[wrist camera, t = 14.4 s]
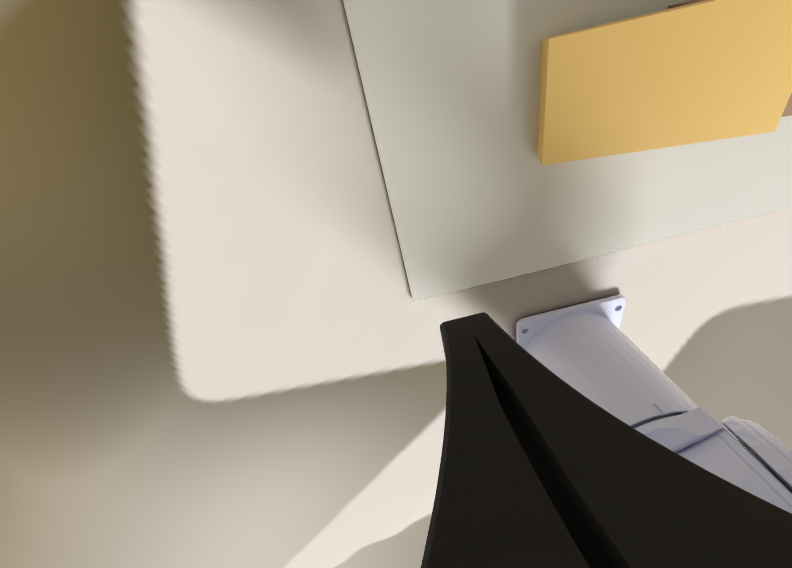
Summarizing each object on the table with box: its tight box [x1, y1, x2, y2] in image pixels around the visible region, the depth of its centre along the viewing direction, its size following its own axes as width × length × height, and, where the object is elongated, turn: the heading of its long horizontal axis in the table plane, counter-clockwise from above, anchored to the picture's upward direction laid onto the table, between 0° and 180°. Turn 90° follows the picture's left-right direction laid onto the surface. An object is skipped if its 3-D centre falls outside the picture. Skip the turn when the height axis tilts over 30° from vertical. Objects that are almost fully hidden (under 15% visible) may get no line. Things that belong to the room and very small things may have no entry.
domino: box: [536, 0, 792, 165], centre depth 14 cm, size 5×2×9 cm
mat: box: [343, 0, 792, 302], centre depth 16 cm, size 18×33×1 cm, turn 102°
